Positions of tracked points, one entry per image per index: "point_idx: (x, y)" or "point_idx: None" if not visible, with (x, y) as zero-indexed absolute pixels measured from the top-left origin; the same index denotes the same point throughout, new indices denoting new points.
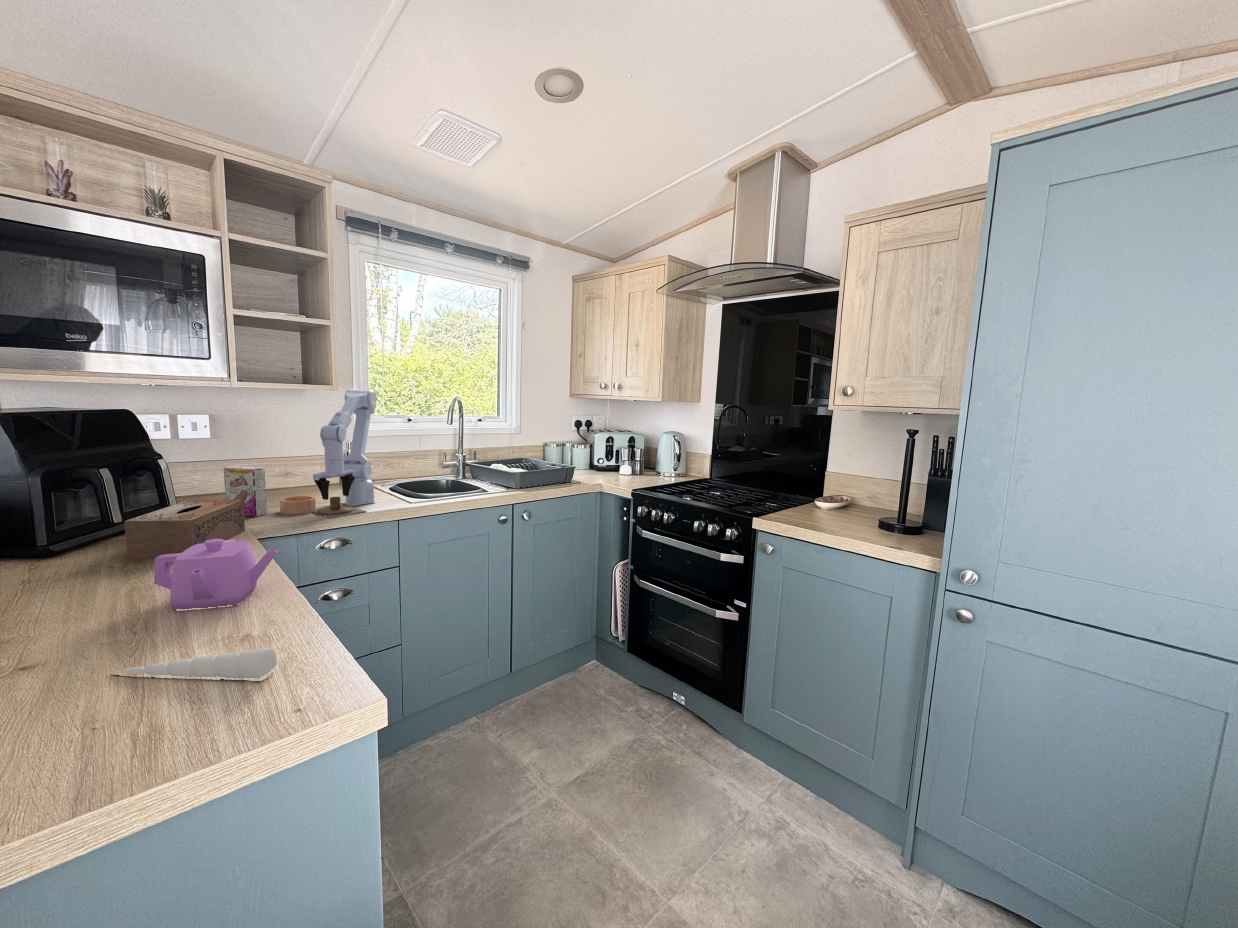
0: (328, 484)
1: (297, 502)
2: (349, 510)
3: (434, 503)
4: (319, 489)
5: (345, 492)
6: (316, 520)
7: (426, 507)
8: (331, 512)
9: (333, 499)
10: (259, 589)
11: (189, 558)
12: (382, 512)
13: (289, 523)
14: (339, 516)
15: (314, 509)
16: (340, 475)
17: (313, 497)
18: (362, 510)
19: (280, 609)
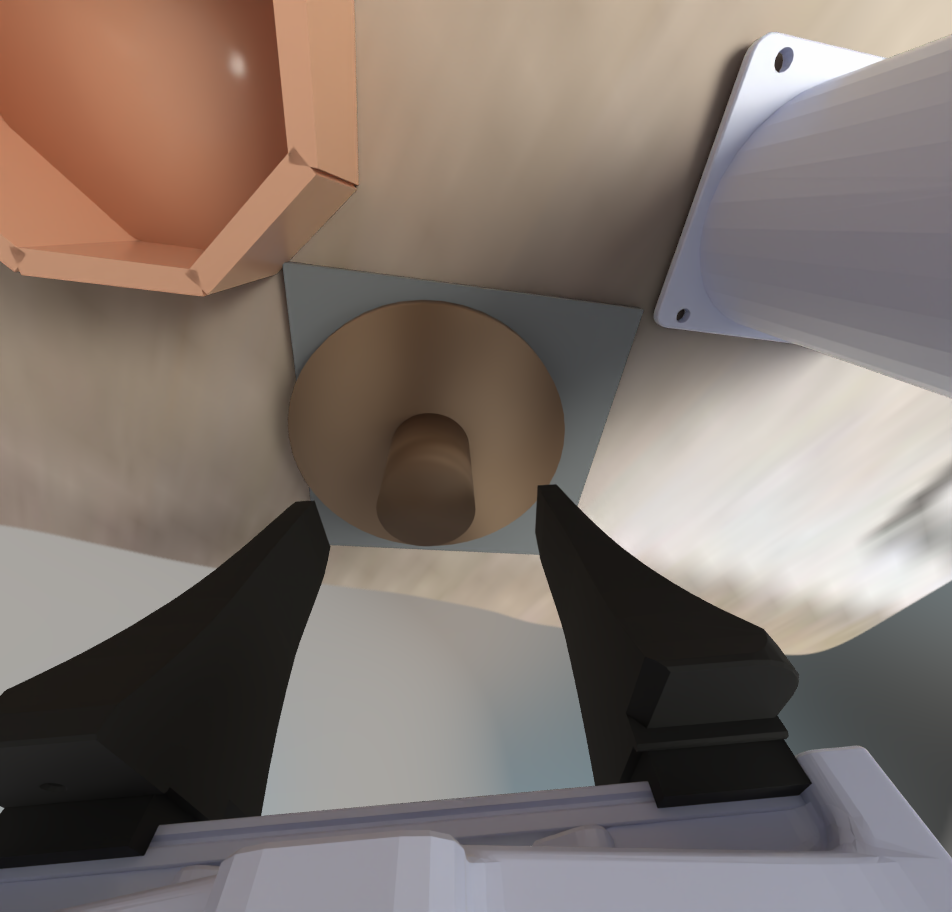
0: (260, 757)
1: (32, 271)
2: (475, 535)
3: (904, 600)
4: (203, 582)
5: (545, 543)
6: (239, 538)
7: (791, 635)
8: (352, 523)
9: (393, 527)
10: None
11: None
12: None
13: (61, 503)
14: (388, 542)
15: (331, 211)
16: (526, 837)
17: (296, 132)
18: None
19: None
